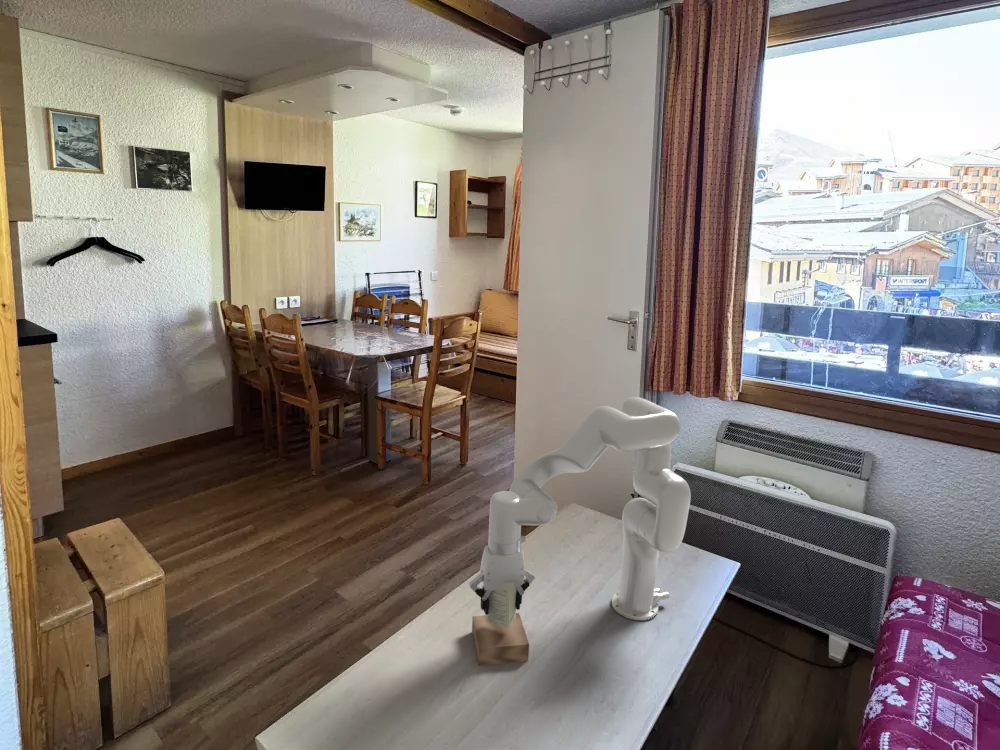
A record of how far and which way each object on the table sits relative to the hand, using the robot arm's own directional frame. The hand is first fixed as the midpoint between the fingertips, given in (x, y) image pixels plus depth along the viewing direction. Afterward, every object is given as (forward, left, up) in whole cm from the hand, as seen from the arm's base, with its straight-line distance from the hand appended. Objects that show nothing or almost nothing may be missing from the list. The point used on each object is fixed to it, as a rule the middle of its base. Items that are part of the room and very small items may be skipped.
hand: (500, 608), depth 149 cm
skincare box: (0, 0, -4) cm, 4 cm away
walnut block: (0, 0, -11) cm, 11 cm away
